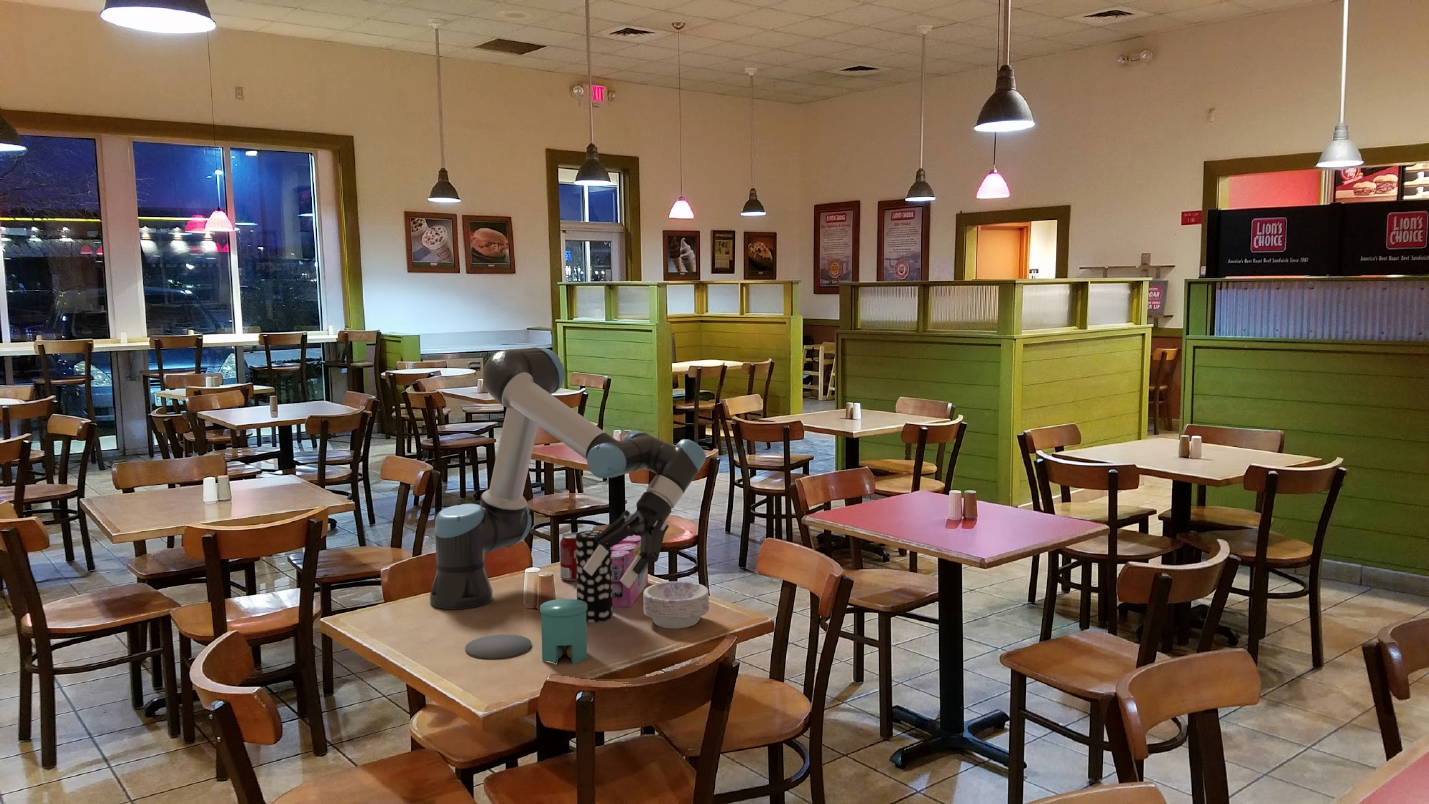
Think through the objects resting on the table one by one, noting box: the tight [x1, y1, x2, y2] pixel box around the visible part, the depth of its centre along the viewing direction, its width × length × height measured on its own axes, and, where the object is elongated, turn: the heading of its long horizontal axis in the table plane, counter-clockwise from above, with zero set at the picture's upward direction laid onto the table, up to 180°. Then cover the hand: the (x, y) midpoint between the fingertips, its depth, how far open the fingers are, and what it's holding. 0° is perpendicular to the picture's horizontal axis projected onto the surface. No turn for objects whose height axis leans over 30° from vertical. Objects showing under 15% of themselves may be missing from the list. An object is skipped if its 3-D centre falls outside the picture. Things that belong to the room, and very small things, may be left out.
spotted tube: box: [576, 529, 614, 623], centre depth 243 cm, size 8×8×20 cm
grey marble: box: [557, 646, 564, 660], centre depth 215 cm, size 3×3×3 cm
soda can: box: [559, 532, 578, 582], centre depth 276 cm, size 7×7×12 cm
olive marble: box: [561, 645, 568, 655], centre depth 219 cm, size 3×3×3 cm
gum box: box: [612, 535, 649, 608], centre depth 261 cm, size 24×8×14 cm, turn 173°
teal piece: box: [539, 598, 588, 665], centre depth 216 cm, size 10×10×11 cm
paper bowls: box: [642, 581, 710, 630], centre depth 239 cm, size 15×15×8 cm
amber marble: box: [565, 645, 572, 659], centre depth 216 cm, size 3×3×3 cm
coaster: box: [464, 633, 532, 660], centre depth 222 cm, size 14×14×1 cm
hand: (605, 578), depth 222 cm, fingers open, 13 cm apart
